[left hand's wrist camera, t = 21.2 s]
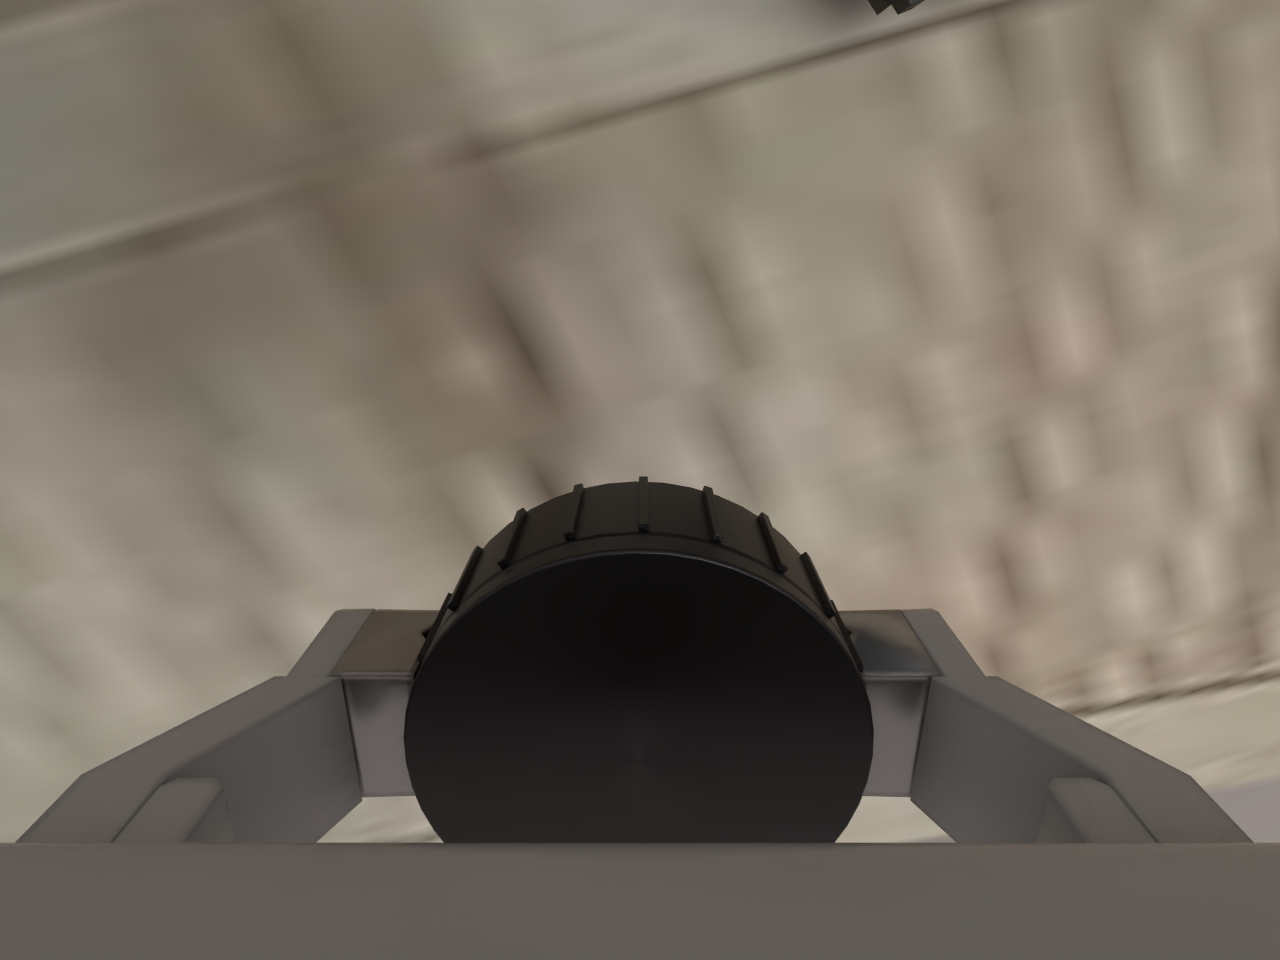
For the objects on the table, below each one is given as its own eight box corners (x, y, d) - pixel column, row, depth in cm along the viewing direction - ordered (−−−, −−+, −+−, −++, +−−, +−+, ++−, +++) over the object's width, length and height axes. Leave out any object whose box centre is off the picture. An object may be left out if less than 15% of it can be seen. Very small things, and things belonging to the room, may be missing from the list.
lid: (643, 864, 12) (643, 993, 10) (361, 661, 10) (298, 764, 8) (917, 654, 10) (980, 757, 8) (632, 385, 9) (629, 435, 7)
